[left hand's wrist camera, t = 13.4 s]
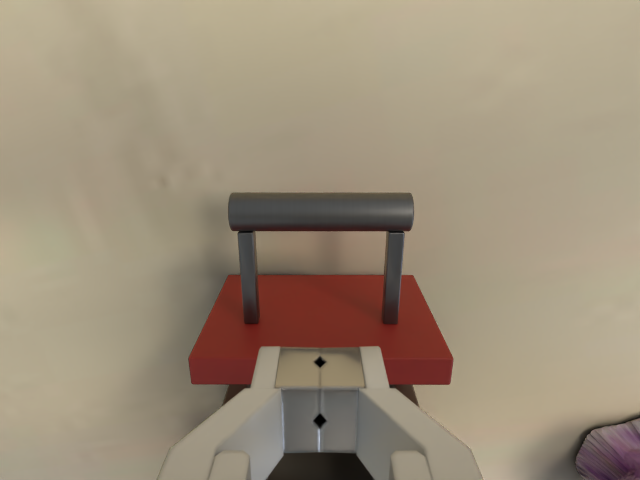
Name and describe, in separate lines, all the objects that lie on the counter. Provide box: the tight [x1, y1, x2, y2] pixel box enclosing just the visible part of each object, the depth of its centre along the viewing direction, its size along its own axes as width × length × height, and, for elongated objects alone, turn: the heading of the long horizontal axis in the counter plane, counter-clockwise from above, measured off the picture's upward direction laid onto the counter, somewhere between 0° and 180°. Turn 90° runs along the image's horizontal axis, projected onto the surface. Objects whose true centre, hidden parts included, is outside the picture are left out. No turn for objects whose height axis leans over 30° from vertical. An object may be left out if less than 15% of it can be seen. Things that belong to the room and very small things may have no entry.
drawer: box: [188, 193, 453, 480], centre depth 20 cm, size 21×10×7 cm, turn 0°
